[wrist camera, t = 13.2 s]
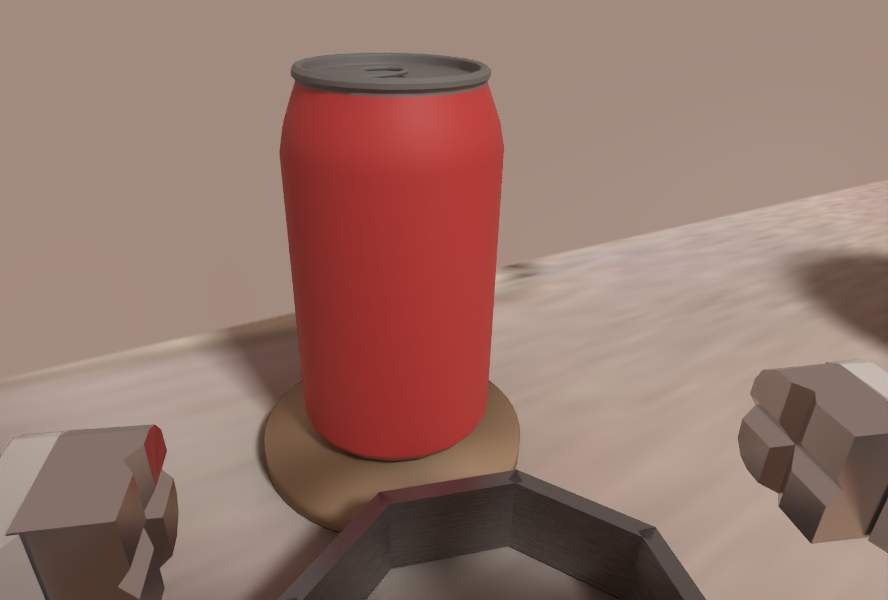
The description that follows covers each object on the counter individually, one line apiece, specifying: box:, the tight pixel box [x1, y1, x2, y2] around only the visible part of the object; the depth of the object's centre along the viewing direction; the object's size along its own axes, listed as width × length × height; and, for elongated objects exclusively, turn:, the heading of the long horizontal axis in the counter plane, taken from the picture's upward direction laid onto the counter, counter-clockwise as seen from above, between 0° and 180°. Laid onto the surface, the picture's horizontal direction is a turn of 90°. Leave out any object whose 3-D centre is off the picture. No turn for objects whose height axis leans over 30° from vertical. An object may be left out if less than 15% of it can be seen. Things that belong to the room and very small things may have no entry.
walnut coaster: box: [264, 380, 520, 532], centre depth 23 cm, size 9×9×1 cm
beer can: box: [280, 53, 504, 462], centre depth 20 cm, size 7×7×12 cm
